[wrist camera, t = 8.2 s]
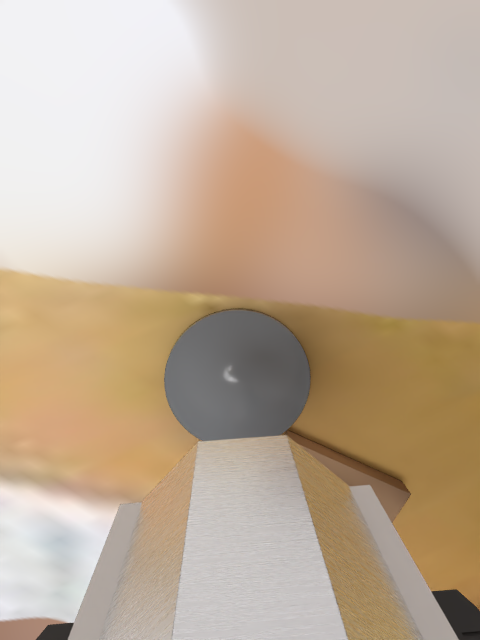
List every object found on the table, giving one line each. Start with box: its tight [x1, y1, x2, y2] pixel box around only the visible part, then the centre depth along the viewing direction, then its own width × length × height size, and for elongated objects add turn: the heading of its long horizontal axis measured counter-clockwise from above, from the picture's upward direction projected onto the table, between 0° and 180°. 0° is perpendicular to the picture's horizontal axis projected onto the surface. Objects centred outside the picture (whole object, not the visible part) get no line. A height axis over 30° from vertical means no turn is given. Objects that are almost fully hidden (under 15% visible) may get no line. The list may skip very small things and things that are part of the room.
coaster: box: [164, 309, 310, 441], centre depth 27 cm, size 10×10×1 cm
